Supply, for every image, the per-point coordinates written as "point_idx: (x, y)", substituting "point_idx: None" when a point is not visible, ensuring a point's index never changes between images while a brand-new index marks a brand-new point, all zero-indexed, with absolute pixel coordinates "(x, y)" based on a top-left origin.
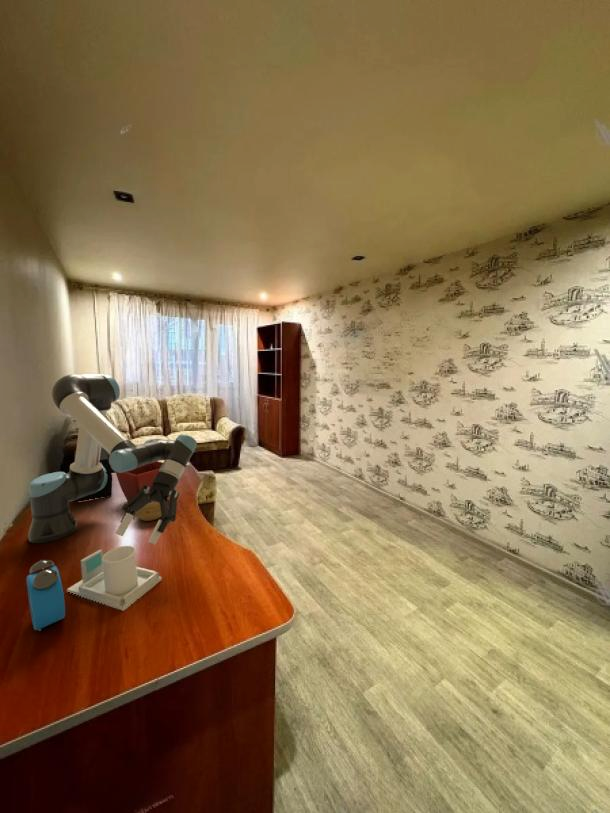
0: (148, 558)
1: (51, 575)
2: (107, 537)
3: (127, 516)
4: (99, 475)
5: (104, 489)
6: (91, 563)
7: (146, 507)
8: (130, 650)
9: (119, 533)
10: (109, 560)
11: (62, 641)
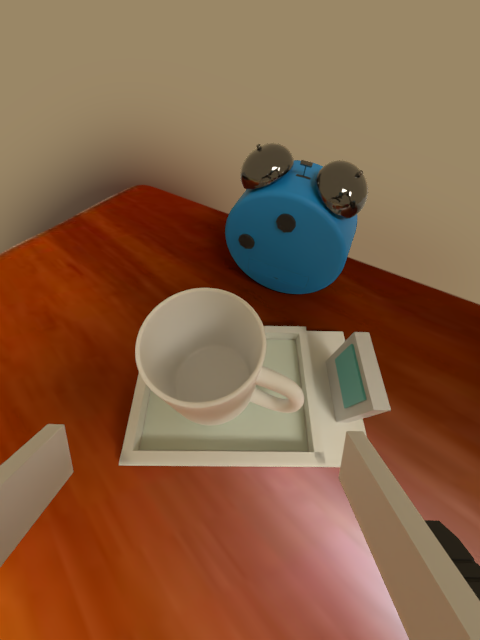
0: (273, 581)
1: (248, 158)
2: None
3: (443, 607)
4: None
5: None
6: (347, 365)
7: None
8: (71, 273)
9: (347, 454)
10: (258, 353)
11: (205, 257)
